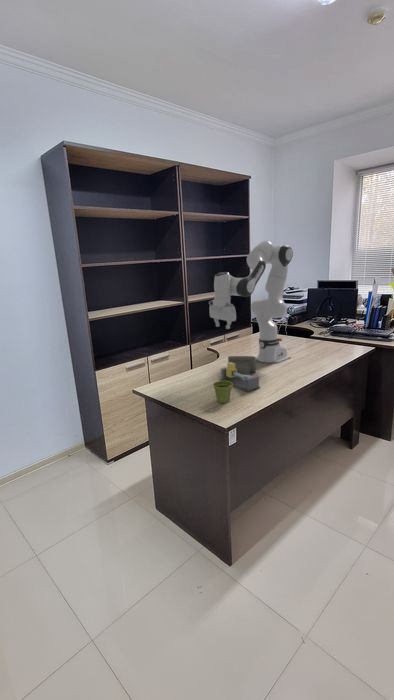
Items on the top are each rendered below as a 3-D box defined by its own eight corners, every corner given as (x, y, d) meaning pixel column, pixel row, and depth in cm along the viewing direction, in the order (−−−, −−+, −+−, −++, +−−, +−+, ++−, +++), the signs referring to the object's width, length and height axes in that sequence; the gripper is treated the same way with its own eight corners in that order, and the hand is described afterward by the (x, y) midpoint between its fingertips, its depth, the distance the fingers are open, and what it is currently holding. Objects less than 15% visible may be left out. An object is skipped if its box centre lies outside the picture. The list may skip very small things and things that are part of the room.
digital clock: (257, 371, 205) (257, 354, 202) (253, 376, 197) (253, 358, 194) (231, 369, 211) (230, 352, 209) (226, 374, 203) (225, 357, 201)
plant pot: (222, 406, 161) (221, 389, 158) (209, 400, 168) (208, 384, 166) (237, 401, 166) (236, 384, 164) (224, 395, 173) (223, 379, 171)
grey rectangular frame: (219, 380, 194) (219, 369, 192) (232, 376, 199) (232, 365, 197) (247, 392, 175) (246, 380, 174) (260, 387, 180) (260, 376, 178)
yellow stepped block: (226, 376, 192) (225, 363, 190) (232, 374, 194) (232, 361, 192) (230, 377, 189) (230, 365, 187) (237, 376, 191) (236, 363, 189)
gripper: (239, 303, 183) (239, 329, 186) (216, 300, 199) (216, 324, 203) (229, 304, 179) (229, 331, 183) (207, 301, 196) (207, 325, 199)
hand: (222, 327), depth 193 cm, fingers open, 8 cm apart
